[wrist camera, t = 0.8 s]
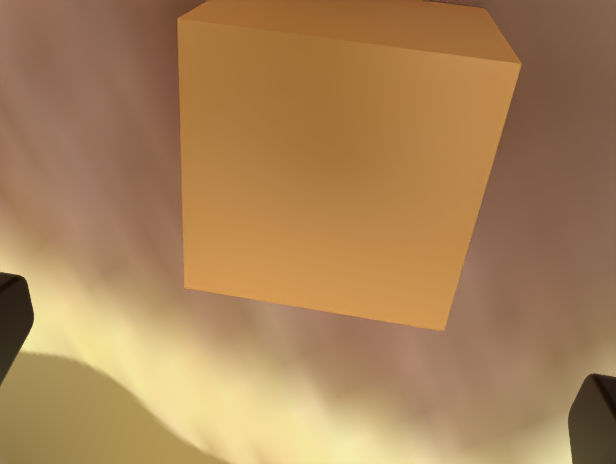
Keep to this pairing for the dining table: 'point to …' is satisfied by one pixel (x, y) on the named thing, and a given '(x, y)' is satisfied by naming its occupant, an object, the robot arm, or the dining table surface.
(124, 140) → the dining table surface
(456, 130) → the tan orange cube
